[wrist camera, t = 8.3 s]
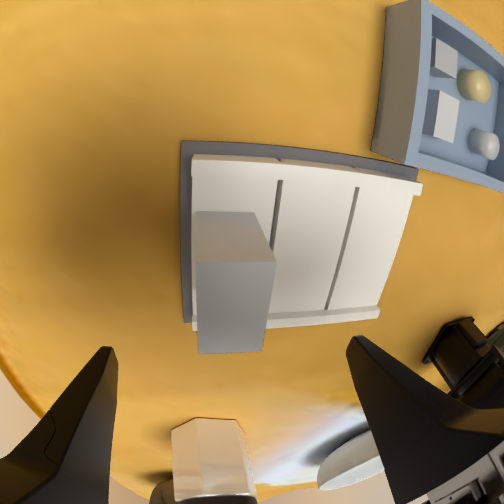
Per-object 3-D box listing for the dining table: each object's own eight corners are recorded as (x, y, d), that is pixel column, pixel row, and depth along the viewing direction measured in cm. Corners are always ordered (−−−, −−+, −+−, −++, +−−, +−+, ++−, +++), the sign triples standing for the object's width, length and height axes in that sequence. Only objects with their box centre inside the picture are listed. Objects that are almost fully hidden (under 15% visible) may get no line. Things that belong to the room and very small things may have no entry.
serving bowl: (302, 470, 45) (310, 498, 39) (319, 432, 35) (333, 471, 29) (391, 441, 48) (402, 464, 42) (431, 391, 37) (449, 421, 31)
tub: (483, 180, 18) (511, 195, 15) (370, 150, 16) (404, 164, 13) (498, 76, 14) (529, 82, 11) (386, 7, 11) (421, -4, 8)
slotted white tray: (368, 305, 22) (404, 358, 17) (192, 314, 19) (194, 386, 14) (408, 176, 17) (472, 211, 12) (192, 154, 14) (187, 186, 9)
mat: (371, 308, 23) (373, 311, 22) (184, 318, 20) (184, 322, 19) (415, 167, 17) (418, 169, 17) (182, 140, 14) (181, 141, 14)
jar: (167, 441, 30) (172, 525, 19) (175, 414, 26) (181, 518, 16) (235, 445, 32) (249, 523, 22) (255, 418, 29) (276, 513, 19)
